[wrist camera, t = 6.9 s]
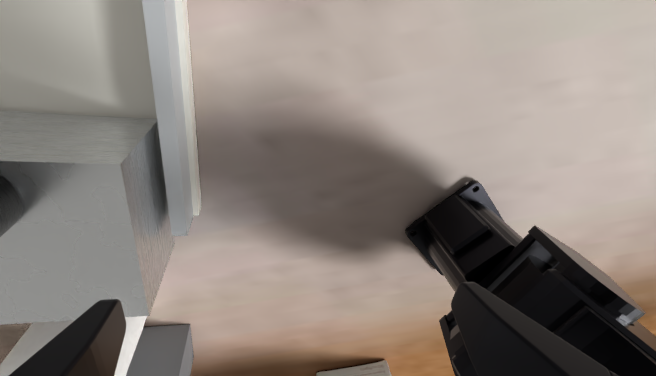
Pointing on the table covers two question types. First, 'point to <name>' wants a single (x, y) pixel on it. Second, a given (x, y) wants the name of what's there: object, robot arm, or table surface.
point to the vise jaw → (80, 215)
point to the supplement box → (360, 370)
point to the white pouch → (47, 331)
